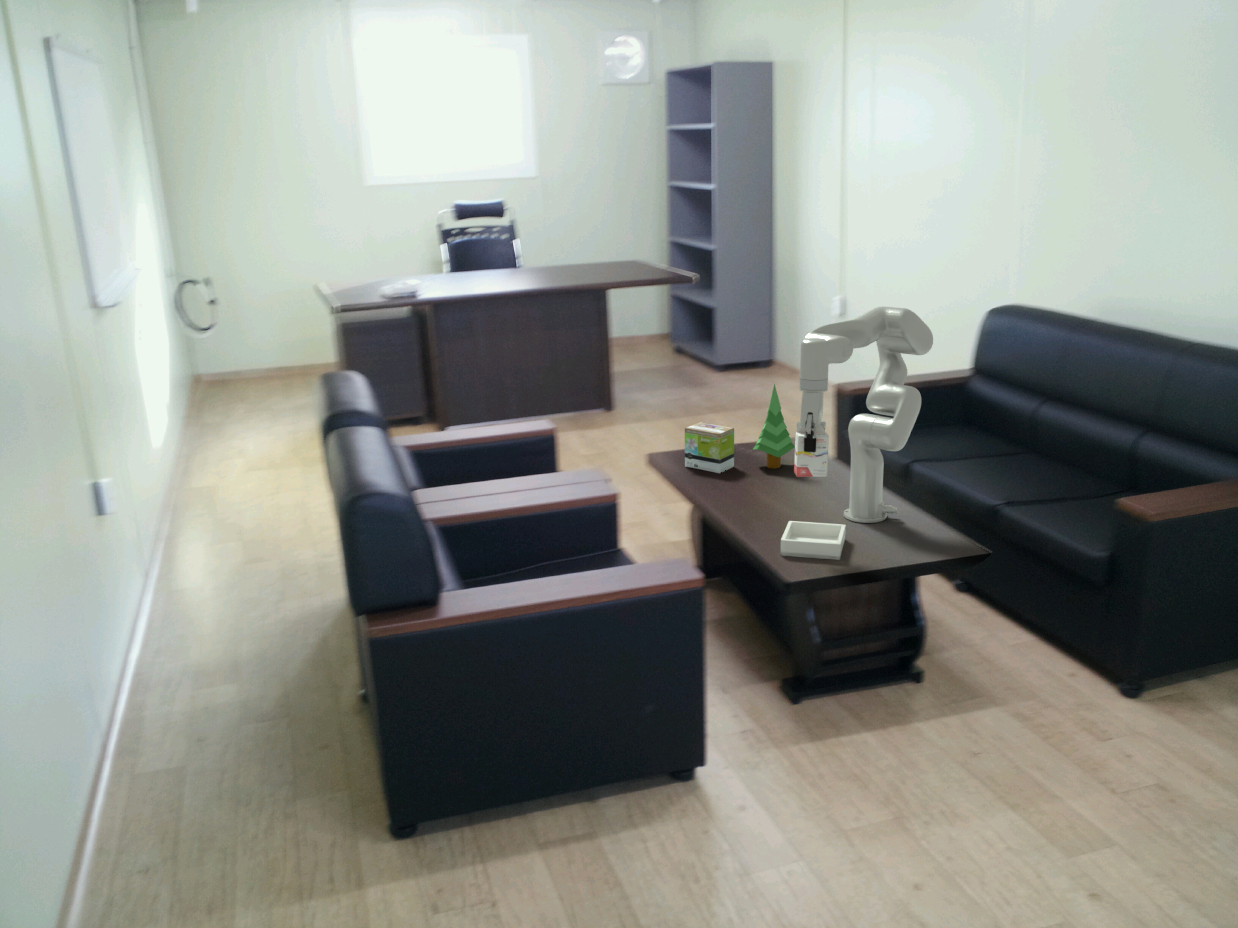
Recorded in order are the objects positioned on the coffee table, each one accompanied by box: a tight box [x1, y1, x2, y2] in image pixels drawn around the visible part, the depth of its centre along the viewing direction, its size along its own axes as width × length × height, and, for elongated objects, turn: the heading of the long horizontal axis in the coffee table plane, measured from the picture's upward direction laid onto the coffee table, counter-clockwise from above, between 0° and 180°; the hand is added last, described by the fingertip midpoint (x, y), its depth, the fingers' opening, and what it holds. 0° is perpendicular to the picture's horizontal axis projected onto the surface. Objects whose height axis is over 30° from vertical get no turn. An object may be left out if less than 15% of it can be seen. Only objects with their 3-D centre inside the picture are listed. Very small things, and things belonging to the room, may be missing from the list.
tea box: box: [684, 421, 735, 474], centre depth 366 cm, size 15×10×15 cm
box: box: [780, 520, 847, 561], centre depth 289 cm, size 16×16×4 cm
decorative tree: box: [752, 383, 795, 469], centre depth 362 cm, size 14×16×30 cm
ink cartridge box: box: [793, 420, 830, 478], centre depth 286 cm, size 9×5×15 cm, turn 90°
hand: (811, 448), depth 286 cm, fingers closed on ink cartridge box, 6 cm apart
